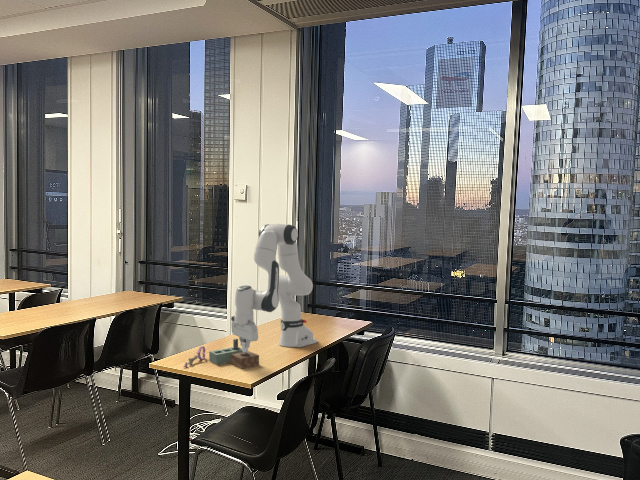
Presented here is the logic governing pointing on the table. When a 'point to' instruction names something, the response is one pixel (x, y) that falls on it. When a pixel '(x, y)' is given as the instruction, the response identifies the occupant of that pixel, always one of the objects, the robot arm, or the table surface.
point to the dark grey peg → (235, 344)
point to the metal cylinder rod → (244, 348)
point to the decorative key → (196, 356)
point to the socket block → (245, 360)
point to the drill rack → (222, 355)
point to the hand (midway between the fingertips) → (244, 346)
